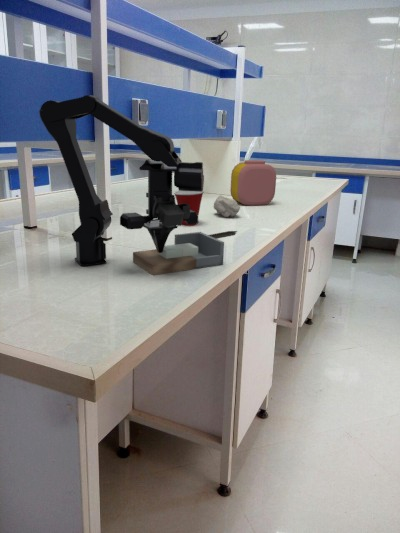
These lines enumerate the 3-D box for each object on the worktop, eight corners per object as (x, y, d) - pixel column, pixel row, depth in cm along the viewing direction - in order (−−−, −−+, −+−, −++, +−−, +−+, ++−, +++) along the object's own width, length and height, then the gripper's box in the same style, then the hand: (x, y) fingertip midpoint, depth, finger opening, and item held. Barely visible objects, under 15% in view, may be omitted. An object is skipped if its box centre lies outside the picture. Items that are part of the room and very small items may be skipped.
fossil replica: (223, 212, 185) (207, 217, 178) (222, 192, 182) (205, 196, 175) (246, 215, 176) (230, 220, 170) (245, 194, 174) (229, 198, 167)
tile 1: (166, 258, 111) (166, 250, 110) (158, 254, 114) (158, 246, 114) (182, 256, 113) (182, 248, 112) (174, 252, 117) (174, 244, 116)
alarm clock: (264, 201, 214) (268, 159, 208) (275, 205, 204) (279, 161, 198) (228, 202, 208) (231, 159, 202) (237, 206, 198) (240, 161, 192)
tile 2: (182, 256, 113) (182, 248, 112) (174, 252, 117) (174, 244, 116) (198, 254, 115) (198, 247, 115) (189, 250, 119) (189, 243, 118)
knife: (234, 232, 153) (234, 228, 152) (247, 236, 148) (247, 232, 147) (172, 241, 138) (172, 237, 138) (184, 246, 133) (184, 242, 133)
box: (196, 268, 112) (197, 245, 110) (174, 255, 122) (174, 234, 120) (223, 264, 116) (224, 242, 114) (199, 252, 126) (200, 231, 124)
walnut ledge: (152, 275, 106) (152, 265, 106) (133, 261, 116) (132, 252, 115) (196, 268, 112) (196, 258, 111) (174, 255, 122) (174, 247, 121)
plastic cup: (175, 219, 167) (176, 187, 163) (204, 221, 166) (205, 188, 162) (170, 226, 156) (170, 191, 153) (201, 228, 155) (202, 193, 152)
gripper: (136, 196, 96) (137, 266, 101) (211, 192, 105) (208, 256, 110) (118, 189, 105) (119, 253, 110) (188, 186, 114) (186, 245, 119)
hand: (159, 252), depth 112 cm, fingers closed
